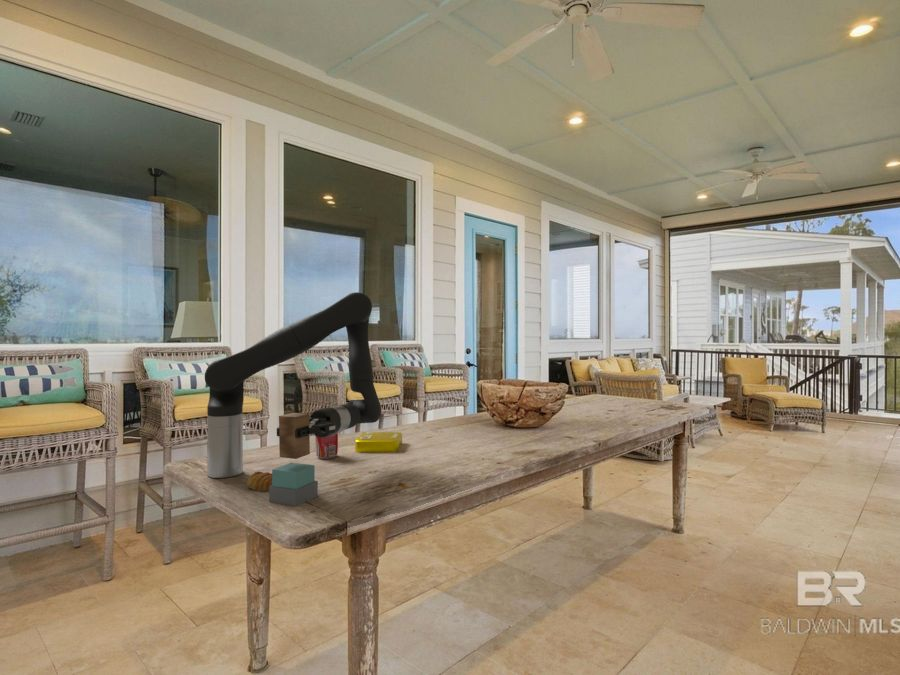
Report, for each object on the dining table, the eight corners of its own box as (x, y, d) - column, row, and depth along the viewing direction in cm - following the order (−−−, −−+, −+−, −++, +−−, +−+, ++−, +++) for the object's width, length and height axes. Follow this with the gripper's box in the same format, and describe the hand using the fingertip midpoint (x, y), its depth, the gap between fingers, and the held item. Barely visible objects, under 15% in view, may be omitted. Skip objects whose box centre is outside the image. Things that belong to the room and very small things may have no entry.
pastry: (288, 487, 129) (288, 473, 129) (268, 495, 123) (268, 480, 123) (264, 482, 134) (264, 468, 134) (243, 489, 128) (243, 474, 128)
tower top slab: (272, 486, 117) (272, 469, 117) (291, 478, 124) (291, 462, 124) (296, 489, 115) (296, 472, 115) (314, 481, 121) (314, 465, 121)
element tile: (397, 453, 166) (397, 439, 166) (353, 453, 166) (353, 439, 166) (402, 443, 181) (402, 430, 181) (362, 443, 181) (362, 430, 181)
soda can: (324, 453, 165) (324, 418, 165) (342, 455, 162) (342, 419, 162) (311, 458, 158) (311, 421, 158) (329, 460, 156) (329, 422, 156)
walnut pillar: (279, 457, 118) (278, 416, 118) (293, 452, 123) (293, 412, 123) (296, 459, 116) (295, 417, 116) (309, 454, 121) (309, 413, 121)
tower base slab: (269, 502, 117) (269, 486, 117) (292, 492, 125) (292, 477, 125) (295, 507, 114) (295, 490, 114) (317, 497, 122) (317, 480, 122)
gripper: (308, 405, 136) (263, 415, 120) (352, 408, 130) (310, 419, 114) (309, 432, 136) (264, 446, 120) (352, 436, 130) (311, 451, 114)
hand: (287, 433), depth 117 cm, fingers closed on walnut pillar, 5 cm apart
